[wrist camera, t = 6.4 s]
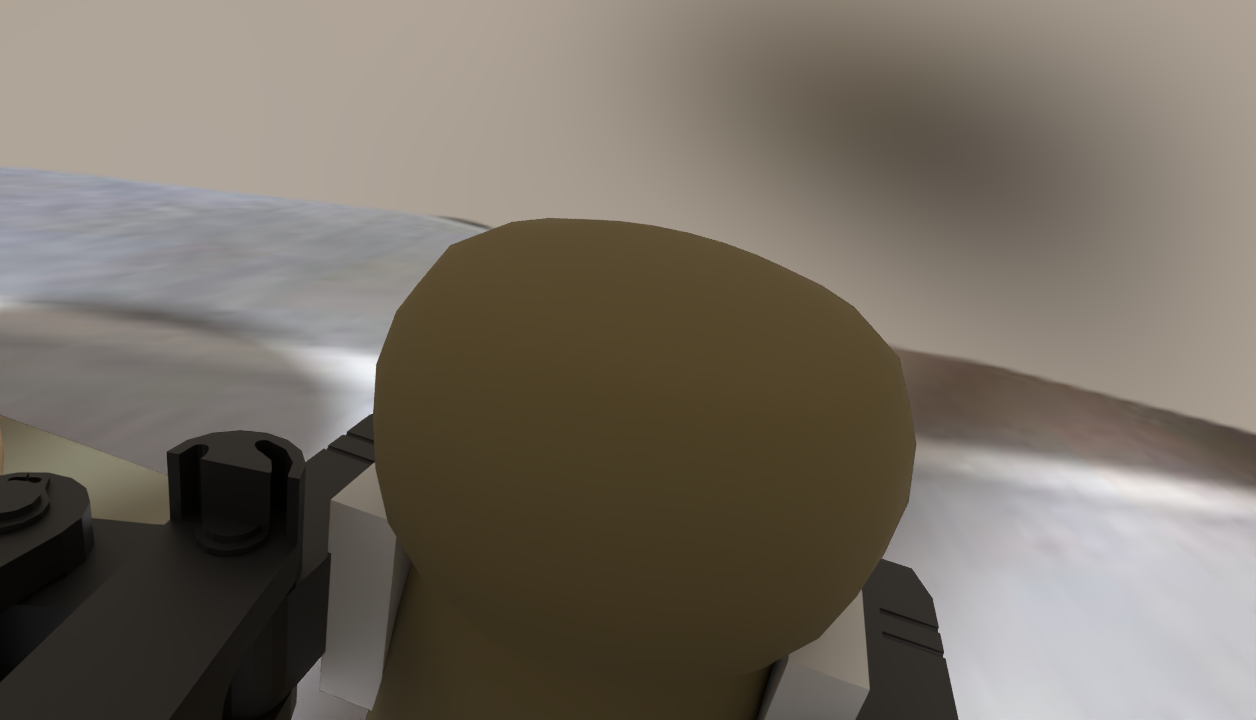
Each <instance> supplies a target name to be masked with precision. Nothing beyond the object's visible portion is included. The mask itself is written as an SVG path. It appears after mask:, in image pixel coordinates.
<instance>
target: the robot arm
mask: <svg viewBox="0 0 1256 720" xmlns="http://www.w3.org/2000/svg"><path fill="white" fill-rule="evenodd" d="M167 467H168V487H169V507H170V520H169V521H168V522H167V523H165V524H164V525H163V524H147V523H138V522H128V521H118V520H108V519H98V518H92V515H91V505H90V499H89V496H88V492H87V488H86V487H84V486H83V485H81V484H80V483H79V482H77V481H76V480H74V479H73V478H70V477H66V476H62V475H57V474H53V473H49V472H17V473H11V474H5V475H0V720H291V718H292V715H293V711H294V708H295V705H296V698H297V684H298V683H299V681H300V680H301V679H302V678H303V677H304V676H305V674H306V673H307V672H308V671H309V670H310V669H311V668H312V666H313V665H314V664H315V663H316V662H317V661H318V660H319V658H320V657H321V656H322V659H321V676H320V691H323V692H325V693H328V694H330V695H333V696H335V697H338V698H340V699H343V700H345V701H348V702H351V703H353V704H356V705H358V706H361V707H363V708H366V709H368V710H371V711H372V708H373V705H374V702H375V699H376V696H377V693H378V690H379V687H380V683H381V680H382V676H383V671H384V667H385V663H386V658H387V654H388V649H389V645H390V641H391V636H392V632H393V627H394V623H395V619H396V614H397V610H398V607H399V603H400V600H401V596H402V593H403V589H404V586H405V583H406V579H407V576H408V572H409V569H410V565H411V562H412V561H411V560H410V558H409V556H408V555H407V553H406V551H405V550H404V548H403V547H402V545H401V543H400V542H399V540H398V539H397V537H396V535H395V534H394V532H393V530H392V529H391V527H390V526H389V524H388V521H387V517H386V513H385V508H384V504H383V500H382V495H381V491H380V487H379V482H378V478H377V474H376V469H375V451H374V432H373V414H371V415H369V416H367V417H366V418H365V419H363V420H362V421H361V422H359V423H358V424H357V425H355V426H354V427H353V428H351V429H350V430H348V431H347V434H346V436H345V435H342V436H340V437H339V438H338V439H336V440H335V441H334V442H332V443H331V444H330V445H328V448H327V450H325V449H323V450H321V451H320V452H319V453H317V454H316V455H315V456H313V457H312V458H311V459H309V460H308V461H307V462H305V460H304V457H303V454H302V451H301V450H300V449H298V448H297V447H296V446H295V445H293V444H292V443H291V442H290V441H288V440H286V439H283V438H280V437H277V436H274V435H271V434H268V433H262V432H252V431H242V430H239V431H228V432H216V433H211V434H207V435H204V436H200V437H197V438H193V439H190V440H187V441H185V442H183V443H181V444H180V445H178V446H176V447H174V448H173V449H171V450H169V451H167ZM938 628H939V626H938V622H937V617H936V612H935V608H934V603H933V598H932V597H931V596H930V594H929V593H928V591H927V590H926V588H925V587H924V585H923V584H922V583H921V581H920V580H919V578H918V577H917V575H916V574H915V573H914V571H913V570H912V569H911V568H908V567H905V566H902V565H899V564H896V563H893V562H890V561H887V560H884V559H881V560H880V561H879V563H878V564H877V566H876V567H875V569H874V571H873V572H872V574H871V575H870V577H869V578H868V580H867V581H866V583H865V585H864V586H863V588H862V589H861V591H860V592H859V594H858V596H857V597H856V598H855V599H854V600H853V601H852V602H851V604H850V605H849V606H848V607H847V608H846V609H845V610H844V611H843V612H842V613H841V615H840V616H839V617H838V618H837V619H836V620H835V621H834V622H833V623H832V624H831V626H830V627H829V628H828V629H827V630H826V631H825V632H824V633H823V634H822V635H821V637H820V638H819V639H817V640H815V641H813V642H811V643H809V644H807V645H805V646H804V647H802V648H800V649H798V650H796V651H794V652H792V653H790V654H789V655H787V656H785V657H783V658H781V659H779V660H777V661H775V662H774V665H773V668H772V672H771V675H770V678H769V681H768V684H767V687H766V691H765V694H764V697H763V700H762V703H761V706H760V710H759V713H758V716H757V719H756V720H958V715H957V711H956V706H955V701H954V697H953V692H952V687H951V683H950V678H949V673H948V668H947V664H946V659H945V658H943V653H944V650H943V645H942V640H941V636H940V633H938Z"/></svg>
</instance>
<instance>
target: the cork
mask: <svg viewBox="0 0 1256 720" xmlns="http://www.w3.org/2000/svg"><path fill="white" fill-rule="evenodd" d="M373 432H374V451H375V469H376V474H377V478H378V482H379V487H380V491H381V495H382V500H383V504H384V508H385V513H386V517H387V521H388V524H389V526H390V527H391V529H392V530H393V532H394V534H395V535H396V537H397V539H398V540H399V542H400V543H401V545H402V547H403V548H404V550H405V551H406V553H407V555H408V556H409V558H410V560H411V561H412V562H411V565H410V569H409V572H408V576H407V579H406V583H405V586H404V589H403V593H402V596H401V600H400V603H399V607H398V610H397V614H396V619H395V623H394V627H393V632H392V636H391V641H390V645H389V649H388V654H387V658H386V663H385V667H384V671H383V676H382V680H381V683H380V687H379V690H378V693H377V696H376V699H375V702H374V705H373V708H372V711H371V710H368V713H367V717H366V720H756V719H757V716H758V713H759V710H760V706H761V703H762V700H763V697H764V694H765V691H766V687H767V684H768V681H769V678H770V675H771V672H772V668H773V665H774V662H775V661H777V660H779V659H781V658H783V657H785V656H787V655H789V654H790V653H792V652H794V651H796V650H798V649H800V648H802V647H804V646H805V645H807V644H809V643H811V642H813V641H815V640H817V639H819V638H820V637H821V635H822V634H823V633H824V632H825V631H826V630H827V629H828V628H829V627H830V626H831V624H832V623H833V622H834V621H835V620H836V619H837V618H838V617H839V616H840V615H841V613H842V612H843V611H844V610H845V609H846V608H847V607H848V606H849V605H850V604H851V602H852V601H853V600H854V599H855V598H856V597H857V596H858V594H859V592H860V591H861V589H862V588H863V586H864V585H865V583H866V581H867V580H868V578H869V577H870V575H871V574H872V572H873V571H874V569H875V567H876V566H877V564H878V563H879V561H880V560H881V558H882V556H883V555H884V553H885V551H886V549H887V547H888V545H889V542H890V540H891V538H892V536H893V534H894V532H895V530H896V528H897V525H898V523H899V521H900V519H901V517H902V515H903V513H904V511H905V508H906V506H907V504H908V502H909V494H910V487H911V479H912V472H913V464H914V457H915V449H916V440H915V434H914V428H913V422H912V416H911V410H910V405H909V400H908V396H907V391H906V386H905V382H904V377H903V372H902V368H901V363H900V359H899V357H898V356H897V355H896V353H895V352H894V351H893V350H892V349H891V348H890V347H889V346H888V344H887V343H886V342H885V341H884V340H883V339H882V338H881V336H880V335H879V334H878V333H877V332H876V331H875V330H874V329H873V327H872V326H871V325H870V324H869V323H868V322H867V321H866V320H865V319H864V317H863V316H862V315H861V314H860V313H859V312H858V311H857V310H856V308H855V307H854V306H852V305H850V304H849V303H847V302H846V301H845V300H843V299H842V298H840V297H838V296H837V295H835V294H834V293H832V292H831V291H829V290H828V289H826V288H825V287H823V286H822V285H819V284H818V283H815V282H813V281H811V280H809V279H807V278H805V277H803V276H801V275H798V274H797V273H795V272H793V271H791V270H789V269H787V268H784V267H782V266H780V265H778V264H776V263H773V262H771V261H769V260H767V259H765V258H762V257H760V256H758V255H756V254H753V253H750V252H747V251H744V250H742V249H739V248H737V247H734V246H731V245H728V244H726V243H723V242H719V241H716V240H712V239H708V238H705V237H702V236H698V235H695V234H691V233H687V232H682V231H677V230H672V229H667V228H662V227H658V226H652V225H645V224H637V223H630V222H622V221H608V220H587V219H586V220H585V219H560V218H559V219H558V218H546V219H536V220H526V221H517V222H511V223H508V224H505V225H503V226H500V227H497V228H495V229H492V230H489V231H487V232H484V233H482V234H479V235H476V236H474V237H471V238H468V239H466V240H463V241H460V242H458V243H455V244H452V245H450V246H449V247H448V249H447V250H446V251H445V252H444V253H443V255H442V256H441V257H440V258H439V259H438V261H437V262H436V263H435V264H434V265H433V267H432V268H431V269H430V270H429V271H428V272H427V274H426V275H425V276H424V277H423V278H422V280H421V281H420V282H419V283H418V284H417V286H416V287H415V288H414V290H413V291H412V292H411V293H410V295H409V296H408V297H407V299H406V300H405V301H404V302H403V304H402V305H401V306H400V308H399V309H398V310H397V311H396V314H395V316H394V319H393V322H392V324H391V327H390V330H389V332H388V335H387V338H386V340H385V343H384V346H383V348H382V351H381V354H380V356H379V359H378V362H377V364H376V379H375V395H374V410H373Z"/></svg>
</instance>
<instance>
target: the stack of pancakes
mask: <svg viewBox="0 0 1256 720" xmlns="http://www.w3.org/2000/svg"><path fill="white" fill-rule="evenodd" d="M17 472H49V473H53V474H57V475H62V476H66V477H70V478H73V479H74V480H76V481H77V482H79V483H80V484H81V485H83V486H84V487H86V488H87V492H88V496H89V499H90V505H91V515H92V518H98V519H108V520H118V521H128V522H138V523H147V524H163V525H164V524H165V523H167V522H168V521H169V520H170V507H169V487H168V475H165V474H162V473H160V472H157V471H154V470H151V469H149V468H146V467H143V466H140V465H137V464H135V463H132V462H129V461H126V460H124V459H121V458H118V457H115V456H112V455H110V454H107V453H104V452H101V451H99V450H96V449H93V448H90V447H87V446H85V445H82V444H79V443H76V442H74V441H71V440H68V439H65V438H62V437H60V436H57V435H54V434H51V433H49V432H46V431H43V430H40V429H37V428H35V427H32V426H29V425H26V424H24V423H21V422H18V421H15V420H13V419H10V418H7V417H4V416H1V415H0V475H5V474H11V473H17Z"/></svg>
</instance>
